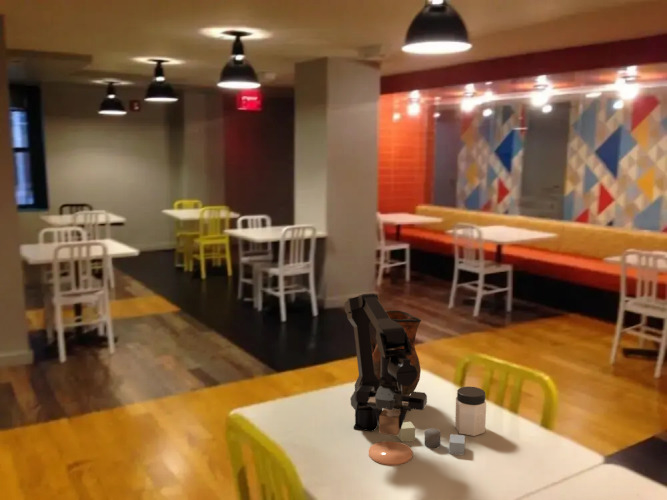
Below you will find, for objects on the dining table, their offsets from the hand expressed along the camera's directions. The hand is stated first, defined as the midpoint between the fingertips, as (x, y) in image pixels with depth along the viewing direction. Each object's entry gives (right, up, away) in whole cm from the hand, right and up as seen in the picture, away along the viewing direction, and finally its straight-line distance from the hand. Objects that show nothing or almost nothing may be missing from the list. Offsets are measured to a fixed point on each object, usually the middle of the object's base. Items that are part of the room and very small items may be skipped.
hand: (390, 426), depth 171 cm
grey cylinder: (+12, -7, +6) cm, 16 cm away
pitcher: (+3, -2, +37) cm, 37 cm away
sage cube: (+5, -6, +11) cm, 14 cm away
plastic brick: (+19, -8, +3) cm, 21 cm away
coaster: (0, -8, +1) cm, 8 cm away
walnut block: (0, -1, 0) cm, 1 cm away
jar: (+25, -6, +16) cm, 30 cm away
